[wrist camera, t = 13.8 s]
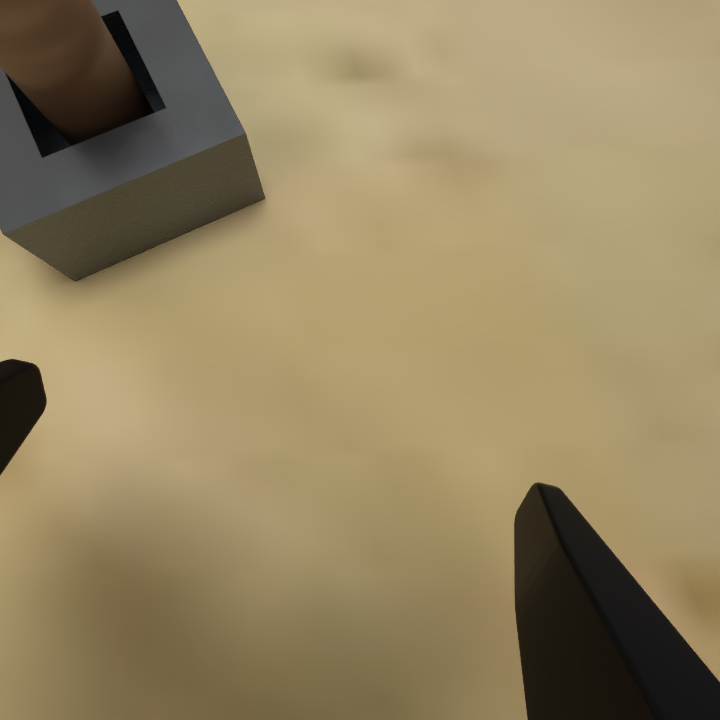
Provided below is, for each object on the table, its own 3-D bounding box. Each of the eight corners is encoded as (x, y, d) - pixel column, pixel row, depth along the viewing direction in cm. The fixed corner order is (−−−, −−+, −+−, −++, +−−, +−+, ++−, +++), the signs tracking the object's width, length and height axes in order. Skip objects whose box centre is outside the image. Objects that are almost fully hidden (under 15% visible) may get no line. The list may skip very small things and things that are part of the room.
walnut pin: (136, 201, 23) (-117, -101, 11) (72, 159, 24) (-250, -183, 11) (186, 141, 24) (5, -211, 11) (123, 101, 24) (-122, -286, 12)
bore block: (75, 281, 23) (2, 234, 18) (4, 115, 24) (-80, 30, 20) (265, 198, 24) (245, 133, 19) (186, 44, 26) (149, -52, 21)
